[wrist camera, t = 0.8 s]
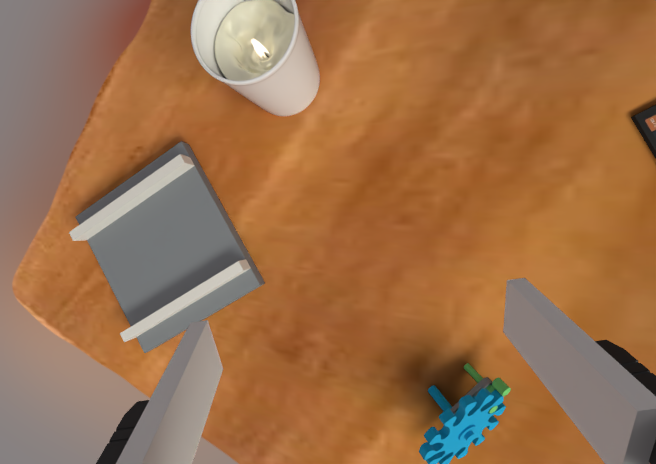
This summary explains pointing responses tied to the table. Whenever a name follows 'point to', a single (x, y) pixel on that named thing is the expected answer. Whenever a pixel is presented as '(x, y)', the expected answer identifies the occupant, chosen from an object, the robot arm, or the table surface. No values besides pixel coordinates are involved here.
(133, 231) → the grey tray with rails
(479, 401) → the gear
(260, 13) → the candle holder
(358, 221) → the table surface
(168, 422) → the robot arm
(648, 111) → the calculator
